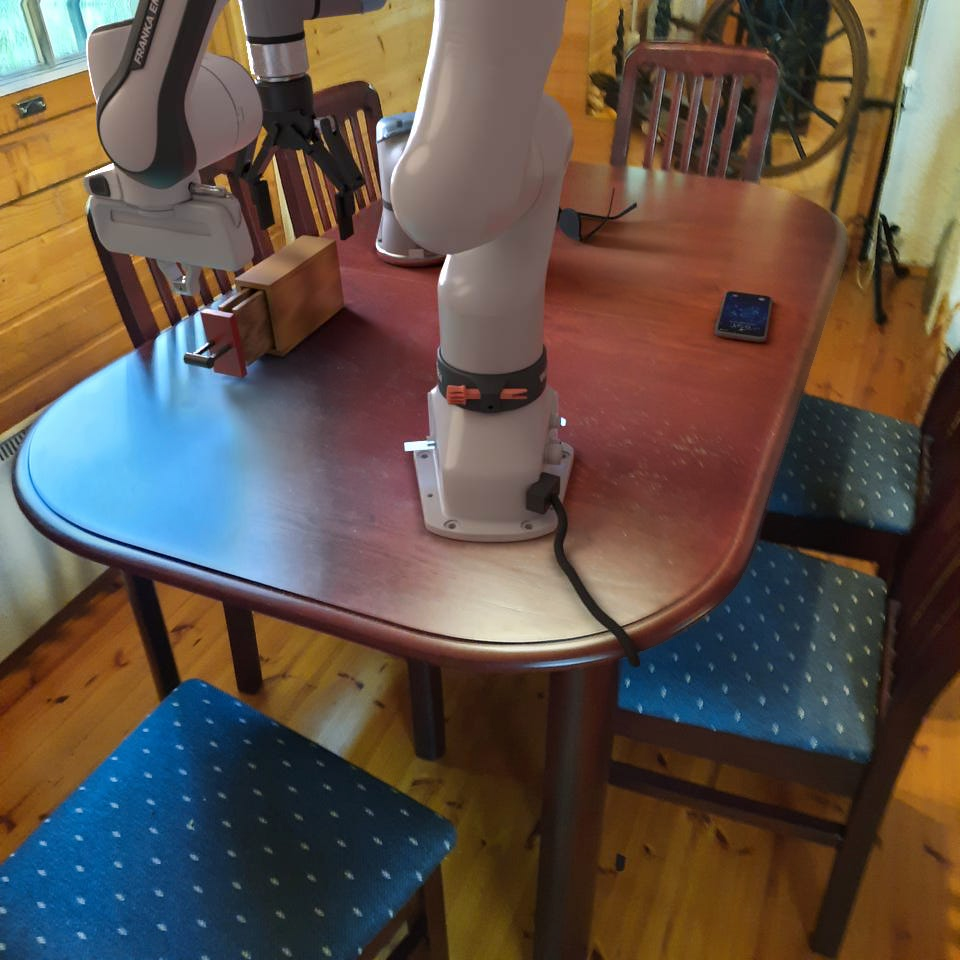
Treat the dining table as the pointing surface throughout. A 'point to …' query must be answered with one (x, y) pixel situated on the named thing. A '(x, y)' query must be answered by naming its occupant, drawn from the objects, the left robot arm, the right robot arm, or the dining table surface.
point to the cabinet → (298, 288)
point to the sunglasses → (572, 220)
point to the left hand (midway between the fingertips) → (307, 232)
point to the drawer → (235, 334)
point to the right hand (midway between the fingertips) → (187, 293)
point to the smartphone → (744, 316)
